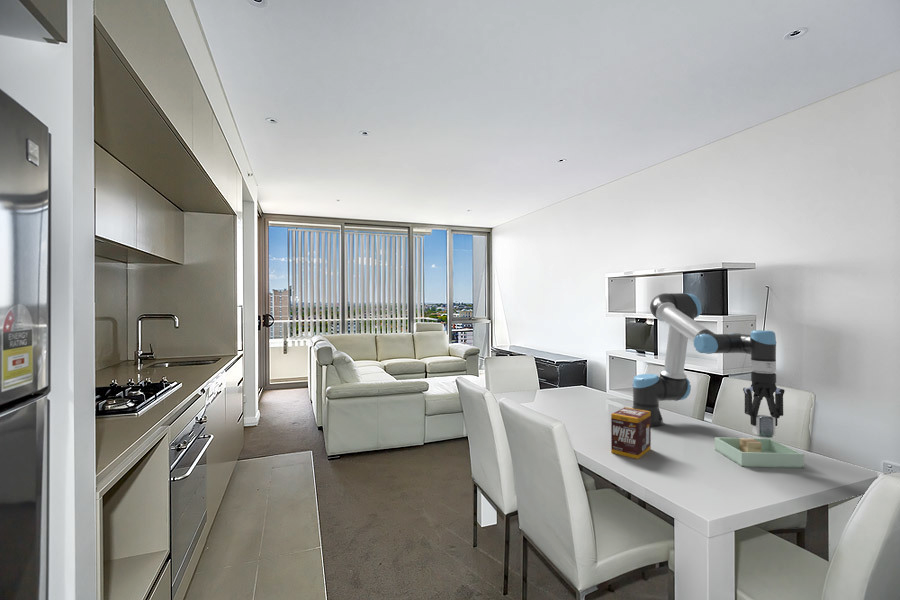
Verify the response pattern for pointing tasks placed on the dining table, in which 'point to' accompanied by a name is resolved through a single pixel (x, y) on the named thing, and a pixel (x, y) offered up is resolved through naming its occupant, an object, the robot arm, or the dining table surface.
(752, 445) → the oak cube
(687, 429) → the dining table surface
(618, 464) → the dining table surface
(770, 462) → the tote
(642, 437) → the supplement box
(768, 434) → the grey tin
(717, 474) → the dining table surface
